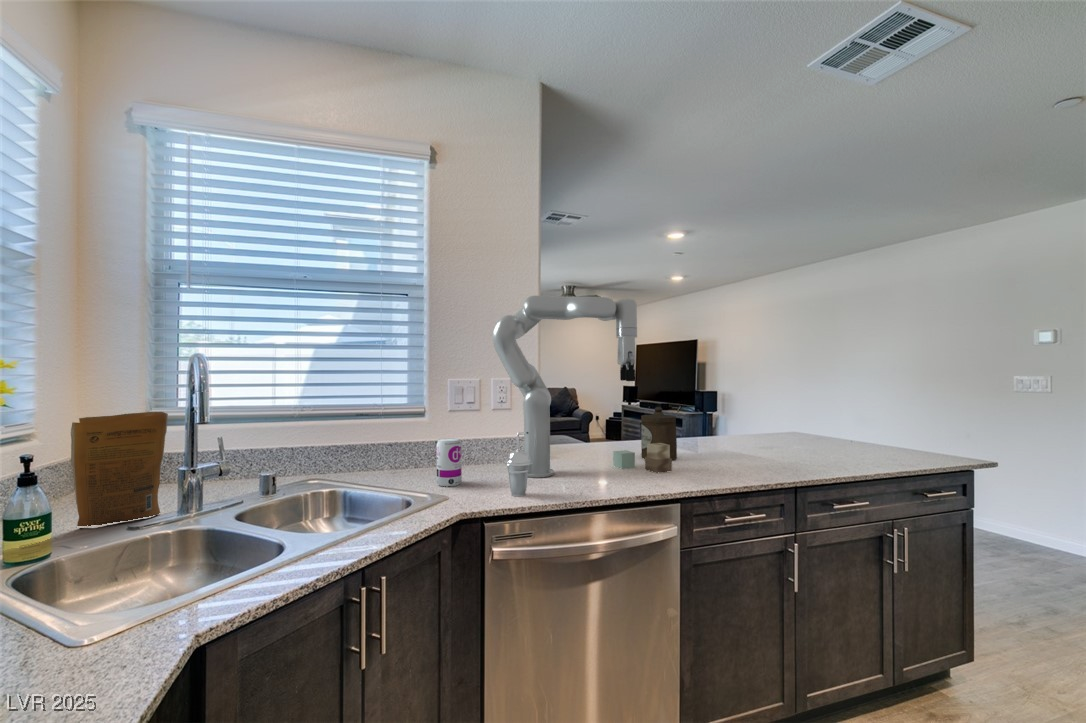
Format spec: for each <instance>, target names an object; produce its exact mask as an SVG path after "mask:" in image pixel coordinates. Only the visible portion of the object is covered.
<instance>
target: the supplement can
mask: <svg viewBox="0 0 1086 723" xmlns="http://www.w3.org/2000/svg"><path fill="white" fill-rule="evenodd" d="M462 474H463V473H462V442H461V440H460V438H458V437H456V438H455V437H447V438H440V439H438V440H437V443H436V484H437V485H438V486H440V487H443V486H444V488H445V486H446V488H449V487H448V486H451V487H455V486H456V485H457V486H459V485H460V484H461V483H462V478H463V477H462ZM457 486H456V487H457Z"/></svg>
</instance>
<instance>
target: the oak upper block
mask: <svg viewBox="0 0 1086 723" xmlns="http://www.w3.org/2000/svg"><path fill="white" fill-rule="evenodd" d="M647 457H649V458H653V459H656V460H659V459H668V458H670V445H667V444H663V443H652V444H647Z"/></svg>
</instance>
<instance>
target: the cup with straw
mask: <svg viewBox="0 0 1086 723" xmlns="http://www.w3.org/2000/svg"><path fill="white" fill-rule="evenodd" d="M524 434H528V432H524V431H523V432H522V431H521V432H517V433H516V449H515V450H514V449H513V450H512V451H511V452H510V453H509V454H508V455H507V458H506V459H505V460H504V465H506V466H507V468H506V469H507V473H508V478H509V487H510V493H511V494H510V496H512V497H524V496H527V495H526V494H527V493H526V492H527V488H528V487H527V486H528V478H529V477H528V472H529V467H530V464H532V460H530V459H529V456H528V454H527V453H526V452H525V451H524V450H522V449H520V436H522V435H523V436H524Z"/></svg>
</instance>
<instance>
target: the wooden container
mask: <svg viewBox="0 0 1086 723" xmlns="http://www.w3.org/2000/svg"><path fill="white" fill-rule="evenodd" d="M640 417H641V420H640V421H641V422H640V423H641V426H640V428H641V431H640V432H641V433H640V435H641V436H640V437H641V438H640V440H641V441H640V442H641V443H640V444H641V445H640V446H641V458H642V459H643V458H644V459H643V460H645V457H647V444H652V443H663V444H667V445H670V458H672V461H675V460H677V458H678V453H677V452H678V450H677V449H678V444H677V443H678V442H677V441H678V440H677V416H676V415H672V414H671V415H670V414H664V413H663V408H662V407H661V406H656V407H654V412H653V413H652V414H642V415H641V416H640Z"/></svg>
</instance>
